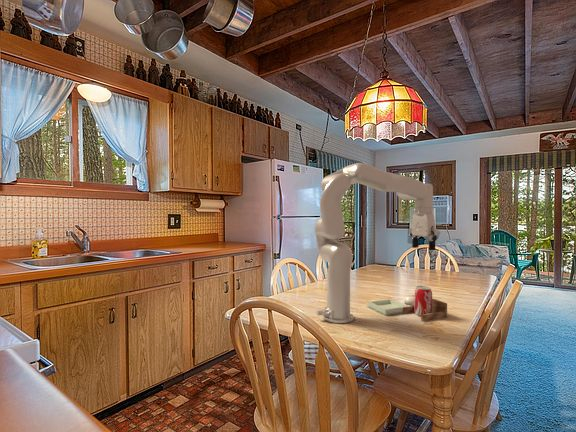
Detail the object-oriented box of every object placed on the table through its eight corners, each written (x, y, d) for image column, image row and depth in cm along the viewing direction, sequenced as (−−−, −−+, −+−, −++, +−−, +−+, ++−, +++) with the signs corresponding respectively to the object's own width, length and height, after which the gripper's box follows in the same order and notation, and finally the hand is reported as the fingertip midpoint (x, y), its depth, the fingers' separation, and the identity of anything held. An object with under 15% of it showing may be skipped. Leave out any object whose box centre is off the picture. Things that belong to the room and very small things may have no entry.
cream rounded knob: (411, 307, 154) (411, 299, 154) (401, 303, 160) (401, 295, 160) (423, 305, 157) (423, 298, 157) (412, 301, 163) (412, 294, 163)
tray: (385, 315, 141) (385, 309, 141) (367, 307, 153) (367, 301, 153) (409, 312, 146) (409, 306, 146) (389, 304, 158) (389, 298, 158)
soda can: (421, 318, 137) (421, 290, 137) (410, 313, 144) (411, 286, 144) (435, 317, 139) (436, 288, 139) (424, 312, 146) (424, 285, 146)
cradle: (422, 321, 134) (423, 306, 134) (402, 312, 145) (402, 299, 145) (447, 317, 139) (447, 303, 139) (425, 309, 150) (425, 296, 150)
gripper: (403, 210, 155) (403, 247, 156) (432, 211, 139) (432, 251, 140) (415, 210, 158) (415, 246, 159) (445, 211, 142) (445, 250, 143)
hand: (423, 248), depth 149 cm, fingers open, 9 cm apart
